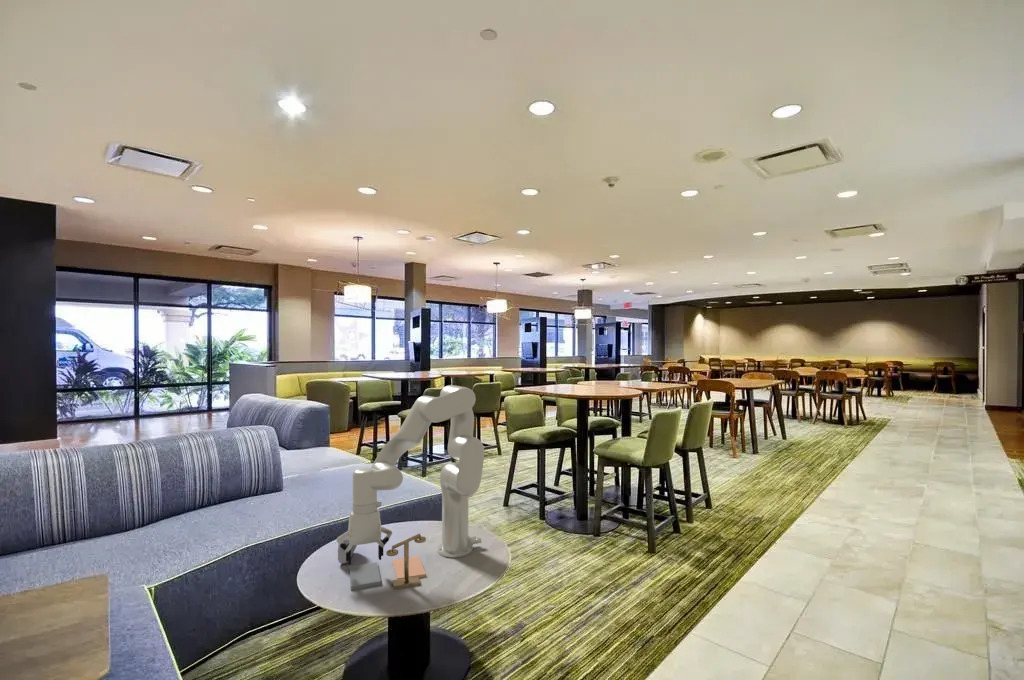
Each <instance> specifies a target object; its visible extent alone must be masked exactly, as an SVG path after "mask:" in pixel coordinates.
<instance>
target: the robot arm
mask: <svg viewBox="0 0 1024 680" xmlns="http://www.w3.org/2000/svg"><path fill="white" fill-rule="evenodd" d="M476 400H477V398H476V393H475V392H474V390H472V389H471V388H469V387H466V386H460V385H453V384H448V385H446V386H444V387H442V389H441V390H440V394H439V396H432V395H431V396H430V395H421V396H420V397H418V398H417V399H416V400H415V401H414V404H412V406H411V408H410V410H409V412H408V413H407V416H406V418H405V419H404V421H403V422H402V424H401V426H400V428H399V429H398V431H397V433H395V434H394V435H393V437H391V438H390V439H389V441H387V442H386V444H385V445H384V446H383V447H382V448H381V449H380V451H379V453H378V455H377V457H376V458H375V460H374V462H373V464H372V465H371V467H362V468H357V469H355V470H354V471H353V474H352V510H351V512H350V513H349V517H348V519H349V520H348V529H347V531H345V532H343V534H341V535H339V536H337V537H336V542H337V545H340V547H341V548H342V549H343V550H345V552H346V561H348V562H347V563H348V565H349V566H351V564H352V557H351V548H352V547H353V545H357V546H360V545H367V544H373V543H377V544H378V547H377V549H378V551H377V554H378V555H377V557H378V560H379V561H382V557H383V556H384V547H385V545H386V544H387V543H388V542H389V540H390V538H391V536H392V535H393V531H392V530H391V529H388V528H386V527H383V526H382V523H381V514H380V513H381V512H380V509H379V508H380V507H382V505H383V504H382V501H379V500H378V491H379V492H380V491H393V490H395V489H397V488H399V487H400V486H401V485H402V483H403V480H404V476H403V473H402V471H401V470H400V469H399V468H397V467H395V466H396V464H397V462H398V461H399V459H401V457H402V455H404V454H405V453H407V451H409V450H411V449H413V448H415V447H417V446H419V445H420V444H421V442H422V441H423V439H424V436H425V434H426V433H427V431H428V429H429V428H430V426H431V425H432V423H440V422H441V423H442V422H444V421H447V420H449V419H450V429H449V435H448V441H447V442H448V443H447V453H448V455H449V457H450V458H452V459H454V460H457V461H458V462H455V461H454V462H448V463H447V464H445V465H444V466H443V467H442V469H441V470H440V474H439V483H440V490H441V505H442V506H441V509H442V510H441V544H439V546H438V547H437V553H438V555H440V556H442V557H444V558H445V557H446V558H449V559H450V558H451V559H452V558H453V559H454V558H462V557H465V556H467V555H470V553H472V552H473V548H474V547H473V545H475V544H482V537H476V536H470V535H469V497H471V496H473V495H474V494H476V492H478V489H479V487H480V485H481V481H482V475H483V468H484V462H485V448H484V447H485V446H484V445H483V442H482V441H481V440H480V439H479V438H478V437H475V436H474V429H475V428H474V427H475V414H474V411H473V407H474V406H475V404H476ZM382 533H383V534H385V536H384V538H383V539H382ZM346 537H348V539H349V542H348V544H347V545H346V544H345V543H344V542H343V541H342V540H343V539H345V538H346Z"/></svg>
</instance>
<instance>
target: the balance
mask: <svg viewBox="0 0 1024 680" xmlns="http://www.w3.org/2000/svg"><path fill="white" fill-rule="evenodd" d="M412 541H414V542H415V543H417V544H421V543H422V544H423V543H425V542H426V541H427V537H426V536H422V535H421V533H418V534H415V535H413V536H411V537H408V538H407V539H405V540H401V541H400V542H398V543H396V544H394V545H391V549H388V550H386V551H385V552H386V553H385V554H386V556H388V557H395V556H398V555H399V550H398V548H399V547H401V546H403V558H404V578H402V579H393V580H392V587H393V590H394V591H395V590H399V589H404V588H410V587H416V586H420V585H421V579H420V578H419V577H418V576H414V577H409V557H410V556H409V554H410V553H409V552H410V547H409V546H410V545H409V544H410V542H412ZM396 548H397V549H396Z"/></svg>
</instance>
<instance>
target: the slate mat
mask: <svg viewBox="0 0 1024 680" xmlns="http://www.w3.org/2000/svg"><path fill="white" fill-rule="evenodd" d="M349 582H350V591H353V590H358V589H359V590H360V589H366V588H370V587H376V586H382V578H381V574H380V569H379V563H378V561H376V562H369V563H364V564H356V565H349Z"/></svg>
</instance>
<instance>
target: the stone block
mask: <svg viewBox="0 0 1024 680" xmlns="http://www.w3.org/2000/svg"><path fill="white" fill-rule="evenodd" d="M342 541H343V542H344V543H345V544H346V545H347V544H348V542H349V539H348V537H346V538H345V539H343V540H342ZM337 545H338V548H337V560H338V561H337V562H339V563H340V564H343V565H344V564H347V563H348V561H346V552H345V550H343V549H342V548H341V547H340V545H339V544H337ZM357 546H358V545H353V547H352V548H351V558H352V556H353V555H354V552H355V550H356V548H357Z"/></svg>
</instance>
